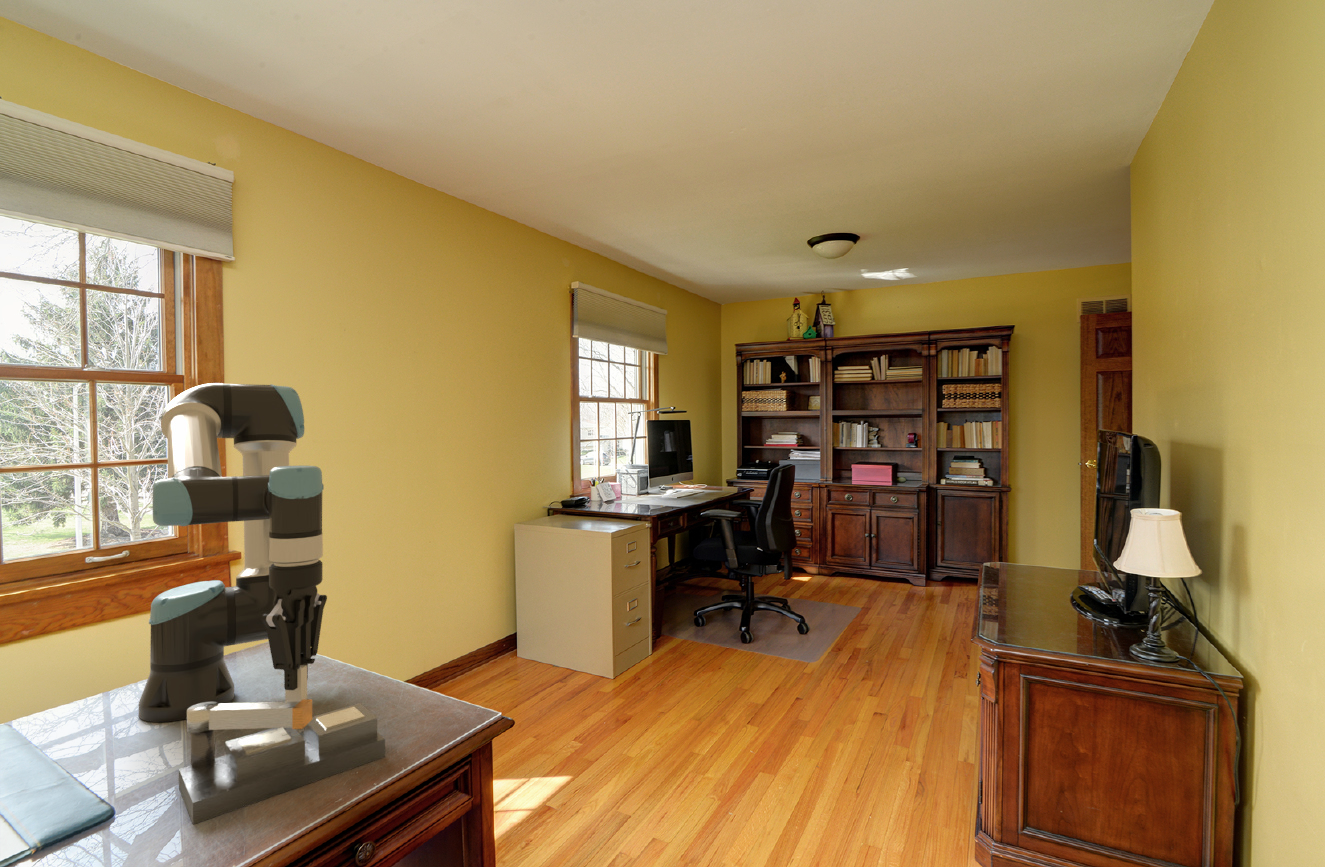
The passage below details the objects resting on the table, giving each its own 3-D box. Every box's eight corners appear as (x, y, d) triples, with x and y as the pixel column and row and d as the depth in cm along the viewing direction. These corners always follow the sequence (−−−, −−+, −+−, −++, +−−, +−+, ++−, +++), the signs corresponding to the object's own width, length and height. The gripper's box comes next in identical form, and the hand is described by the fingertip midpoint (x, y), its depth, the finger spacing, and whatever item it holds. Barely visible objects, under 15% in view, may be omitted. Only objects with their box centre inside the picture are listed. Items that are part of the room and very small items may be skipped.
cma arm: (180, 733, 96) (180, 712, 96) (197, 721, 100) (197, 701, 100) (301, 729, 98) (301, 709, 98) (313, 718, 102) (313, 698, 102)
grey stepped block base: (177, 784, 98) (177, 732, 98) (355, 728, 116) (355, 685, 116) (193, 824, 88) (192, 766, 88) (384, 756, 106) (385, 708, 106)
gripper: (300, 552, 110) (300, 689, 110) (244, 569, 97) (244, 723, 98) (342, 553, 110) (341, 690, 110) (291, 570, 97) (291, 726, 97)
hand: (296, 706), depth 104 cm, fingers closed
